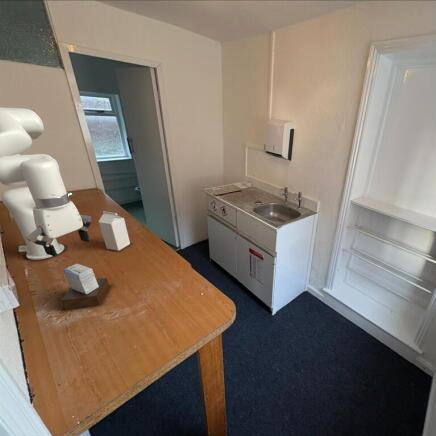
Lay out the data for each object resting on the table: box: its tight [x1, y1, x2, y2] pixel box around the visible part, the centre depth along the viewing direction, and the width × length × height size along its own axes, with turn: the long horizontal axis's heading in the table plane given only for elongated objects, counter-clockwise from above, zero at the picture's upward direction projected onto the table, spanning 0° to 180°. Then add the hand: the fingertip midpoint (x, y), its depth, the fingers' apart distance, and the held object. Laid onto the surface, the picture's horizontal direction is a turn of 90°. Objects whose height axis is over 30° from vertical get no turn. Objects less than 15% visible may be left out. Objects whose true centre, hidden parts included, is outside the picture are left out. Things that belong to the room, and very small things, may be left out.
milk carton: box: [98, 210, 131, 252], centre depth 114 cm, size 7×7×19 cm
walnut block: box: [60, 277, 110, 311], centre depth 86 cm, size 10×10×4 cm
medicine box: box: [63, 263, 99, 294], centre depth 83 cm, size 8×4×9 cm, turn 71°
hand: (69, 247), depth 78 cm, fingers open, 9 cm apart
